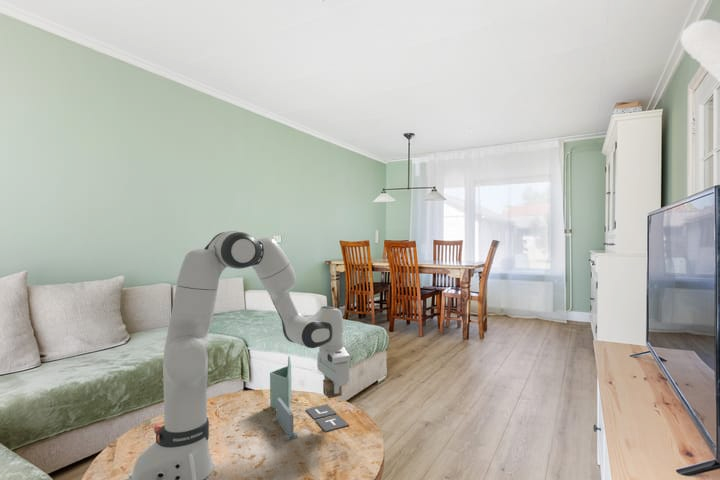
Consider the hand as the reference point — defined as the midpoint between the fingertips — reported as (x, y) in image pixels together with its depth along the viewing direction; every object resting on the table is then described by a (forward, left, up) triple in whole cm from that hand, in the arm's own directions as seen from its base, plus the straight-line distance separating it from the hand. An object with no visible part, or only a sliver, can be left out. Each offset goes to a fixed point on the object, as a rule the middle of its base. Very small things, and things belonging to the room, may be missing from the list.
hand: (332, 389), depth 134 cm
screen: (-16, +5, -12) cm, 21 cm away
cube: (0, 0, -2) cm, 2 cm away
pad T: (0, 0, -12) cm, 12 cm away
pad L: (0, +10, -12) cm, 16 cm away
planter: (-12, +24, -12) cm, 30 cm away
